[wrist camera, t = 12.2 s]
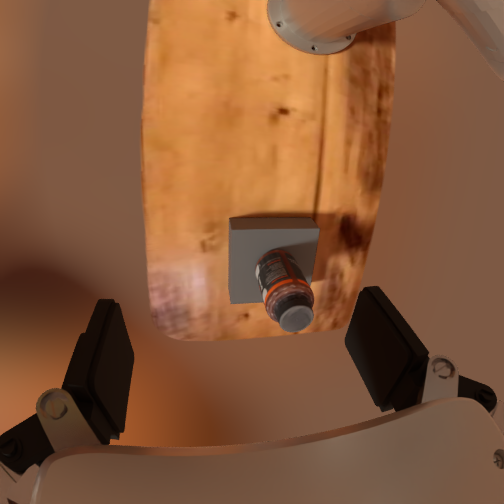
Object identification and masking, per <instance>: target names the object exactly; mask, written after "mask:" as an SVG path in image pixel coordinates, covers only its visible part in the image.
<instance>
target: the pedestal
mask: <svg viewBox="0 0 504 504" xmlns="http://www.w3.org/2000/svg"><path fill="white" fill-rule="evenodd" d="M319 231H320V228H319V227H318V226H317V225H316V223H315V222H314V221H313V220H312V219H311V218H301V217H292V218H229V295H230V302H231V304H241V303H259V302H263V298H262V295H261V291H260V288H259V285H258V282H257V278H256V274H255V267H256V264H257V262H258V260H259V259H260V257H262V256H263V255H264V254H266V253H267V252H269V251H273V250H283V251H286V252H288V253H290V254H291V255H292V256H293V257H294V259H295V260H296V262H297V264H298V265H299V267H300V269H301V271H302V273H303V275H304V276H305V278H306V280H307V282H308V284H309V286H310V285H311V279H312V274H313V268H314V262H315V256H316V250H317V244H318V238H319Z"/></svg>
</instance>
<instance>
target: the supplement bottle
mask: <svg viewBox="0 0 504 504" xmlns="http://www.w3.org/2000/svg"><path fill="white" fill-rule="evenodd" d="M255 274H256V278H257V282H258V285H259V288H260V291H261V295H262V298H263V302H264V305H265V308H266V311H267V313H268V315H269V316H270V318H271V319H273V320H274V321H276V322H279V324H280V326H281V328H282V329H283V330H285V331H287V332H298V331H301V330H303V329H305V328H306V327H308V326H309V325H310V323H311V322H312V320H313V317H314V314H313V310H312V307H313V304H314V295H313V292H312V290H311V288H310V286H309V284H308V282H307V280H306V278H305V276H304V275H303V273H302V271H301V269H300V267H299V265H298V264H297V262H296V260H295V259H294V257H293V256H292V255H291V254H290V253H288V252H286V251H283V250H273V251H269V252H267V253H266V254H264V255H263V256H262V257H260V259H259V260H258V262H257V264H256V267H255Z"/></svg>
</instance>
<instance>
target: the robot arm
mask: <svg viewBox="0 0 504 504" xmlns="http://www.w3.org/2000/svg"><path fill="white" fill-rule="evenodd" d="M425 1H426V0H268V3H267V14H268V19H269V21H270V24H271V26H272V28H273V29H274V31H275V32H276V34H277V35H278V36H279V37H280V38H281V39H282V40H283V41H285V42H286V43H287V44H288V45H290V46H292V47H293V48H295V49H297V50H300V51H302V52H305V53H309V54H314V55H326V54H332V53H335V52H338V51H340V50H342V49H344V48H346V47H347V46H348V45H349V44H350V43H351V42H352V41H353V40H354V38H355V36H356V34H357V33H358V32H361V31H364V30H367V29H370V28H373V27H376V26H379V25H383V24H386V23H389V22H393V21H397V20H400V19H404V18H407V17H409V16H411V15H413V14H414V13H416V12H417V11H418V10H419V9H420V8H421V7H422V6H423V4H424V3H425ZM436 1H437V2H438V3H439V4H440V5H441V6H442V7H443V8H444V9H445V10H446V11H447V12H448V13H449V14H450V15H451V17H452V18H453V19H454V20H455V21H456V23H457V24H458V25H459V26H460V28H461V29H462V30H463V31H464V33H465V34H466V35H467V37H468V38H469V39H470V41H471V42H472V43H473V44H474V46H475V48H476V49H477V50H478V52H479V53H480V54H481V56H482V57H483V59H484V60H485V62H486V63H487V64H488V66H489V67H490V68H491V69H492V71H493V72H494V73H495V74H496V75H497V76H498V77H499V78H500V79H501V80H502V81H504V0H436ZM277 24H278V25H280V27H278V26H277ZM346 37H347V39H346ZM312 47H313V48H314V50H312ZM345 345H346V348H347V350H348V351H349V354H350V355H351V357H352V359H353V361H354V363H355V365H356V367H357V369H358V371H359V373H360V375H361V377H362V379H363V381H364V383H365V385H366V387H367V389H368V391H369V393H370V395H371V397H372V399H373V401H374V403H375V405H376V406H379V407H380V409H381V411H382V412H384V411H388V410H391V409H393V408H394V409H395V411H396V412H395V413H392V414H388V415H385V416H382V417H379V418H375V419H372V420H369V421H365V422H362V423H358V424H354V425H350V426H346V427H342V428H338V429H334V430H330V431H325V432H321V433H316V434H311V435H305V436H300V437H294V438H289V439H282V440H275V441H268V442H260V443H251V444H241V445H230V446H213V447H141V446H120V445H109V444H110V439H117V440H119V435H120V433H123V432H124V429H125V420H126V412H127V404H128V396H129V390H130V383H131V377H132V370H133V364H134V352H133V349H132V346H131V342H130V339H129V336H128V333H127V329H126V326H125V322H124V319H123V315H122V312H121V308H120V305H119V303H115V301H114V299H99V300H98V302H97V304H96V306H95V309H94V312H93V314H92V316H91V319H90V322H89V324H88V327H87V330H86V332H85V333H82V334H81V335H80V336H79V339H78V341H77V344H76V347H75V349H74V352H73V355H72V358H71V361H70V363H69V366H68V370H67V372H66V375H65V379H64V382H63V385H62V388H61V389H59V388H54V389H53V388H52V389H49V390H47V391H45V392H44V393H42V395H41V396H40V397H39V398H38V401H37V403H36V411H37V413H36V414H34V415H32V416H31V417H29V418H28V419H26V420H25V421H23V422H21V423H19V424H18V425H16V426H15V427H13V428H11V429H10V430H8V431H6V432H5V433H3V434H2V435H1V436H0V504H30V503H31V504H504V403H503V402H502V401H501V400H499V401H498V402H497V397H496V395H495V393H494V391H493V390H492V389H491V388H490V387H489V386H487V385H485V384H482V383H479V382H476V381H474V380H471V379H468V378H465V377H463V376H460V375H459V372H458V367H457V365H456V364H455V363H454V362H453V360H451V359H450V358H449V357H446V356H444V355H435V356H433V357H431V358H429V357H428V354H429V352H428V350H427V349H426V347H425V346H424V345H423V343H422V342H421V341H420V339H419V338H418V337H417V335H416V334H415V333H414V331H413V330H412V329H411V327H410V326H409V325H408V323H407V322H406V321H405V319H404V318H403V317H402V315H401V314H400V313H399V311H398V310H397V309H396V308H395V306H394V305H393V304H392V303H391V301H390V300H389V299H388V297H387V296H386V295H385V294H384V292H383V291H382V290H381V289H380V288H379V287H378V286H370V287H365V288H364V289H363V290H362V291H360V293H359V296H358V299H357V302H356V306H355V309H354V312H353V315H352V318H351V321H350V325H349V328H348V331H347V334H346V337H345Z"/></svg>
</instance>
